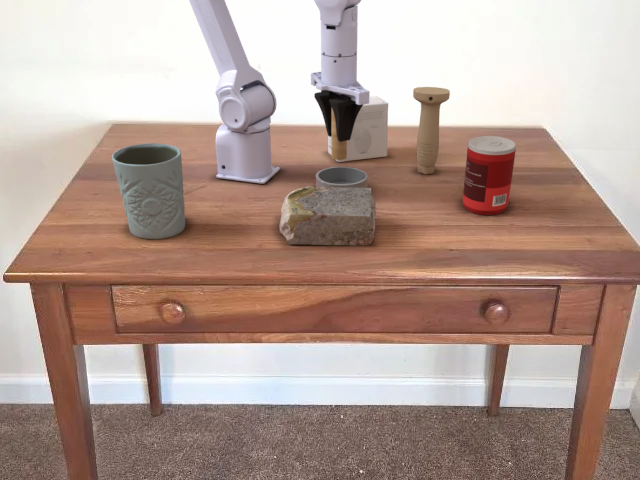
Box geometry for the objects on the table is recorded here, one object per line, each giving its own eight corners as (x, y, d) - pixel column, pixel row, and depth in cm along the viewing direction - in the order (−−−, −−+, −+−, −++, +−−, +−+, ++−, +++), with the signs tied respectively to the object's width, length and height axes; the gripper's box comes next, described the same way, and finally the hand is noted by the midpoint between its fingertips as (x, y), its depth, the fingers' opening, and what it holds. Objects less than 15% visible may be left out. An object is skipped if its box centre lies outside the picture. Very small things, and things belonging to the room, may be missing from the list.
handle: (442, 177, 137) (449, 95, 129) (408, 175, 138) (412, 93, 130) (443, 168, 141) (450, 88, 133) (409, 166, 142) (414, 86, 134)
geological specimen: (380, 215, 110) (278, 210, 108) (376, 251, 113) (277, 248, 112) (374, 186, 119) (280, 181, 117) (371, 220, 122) (279, 217, 121)
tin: (308, 197, 128) (308, 181, 126) (325, 179, 135) (325, 164, 134) (358, 204, 126) (359, 187, 124) (373, 185, 133) (373, 169, 132)
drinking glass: (156, 247, 111) (145, 169, 104) (109, 231, 115) (96, 155, 109) (203, 223, 118) (195, 150, 112) (156, 209, 123) (146, 138, 116)
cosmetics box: (375, 146, 151) (377, 94, 145) (387, 157, 146) (389, 103, 140) (326, 152, 148) (326, 98, 142) (337, 162, 143) (337, 107, 137)
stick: (336, 161, 125) (336, 110, 121) (328, 156, 127) (328, 106, 123) (349, 158, 127) (350, 108, 122) (341, 153, 128) (341, 104, 124)
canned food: (511, 201, 128) (519, 138, 122) (503, 219, 122) (511, 153, 116) (467, 195, 130) (473, 133, 124) (457, 212, 124) (463, 147, 118)
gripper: (294, 47, 121) (296, 130, 128) (343, 65, 111) (342, 154, 118) (330, 42, 124) (331, 123, 132) (381, 60, 114) (378, 146, 121)
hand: (339, 137), depth 125 cm, fingers closed on stick, 2 cm apart
